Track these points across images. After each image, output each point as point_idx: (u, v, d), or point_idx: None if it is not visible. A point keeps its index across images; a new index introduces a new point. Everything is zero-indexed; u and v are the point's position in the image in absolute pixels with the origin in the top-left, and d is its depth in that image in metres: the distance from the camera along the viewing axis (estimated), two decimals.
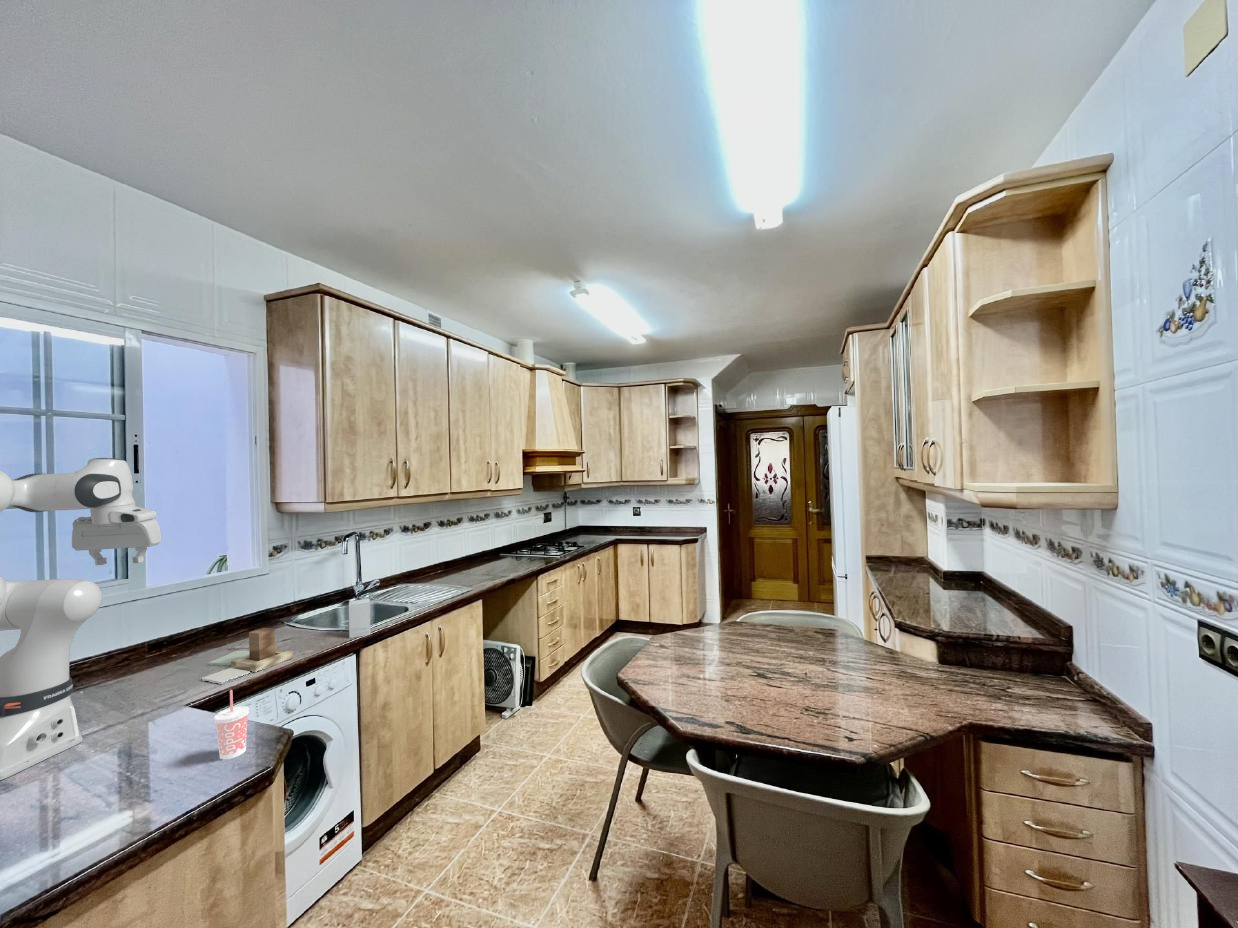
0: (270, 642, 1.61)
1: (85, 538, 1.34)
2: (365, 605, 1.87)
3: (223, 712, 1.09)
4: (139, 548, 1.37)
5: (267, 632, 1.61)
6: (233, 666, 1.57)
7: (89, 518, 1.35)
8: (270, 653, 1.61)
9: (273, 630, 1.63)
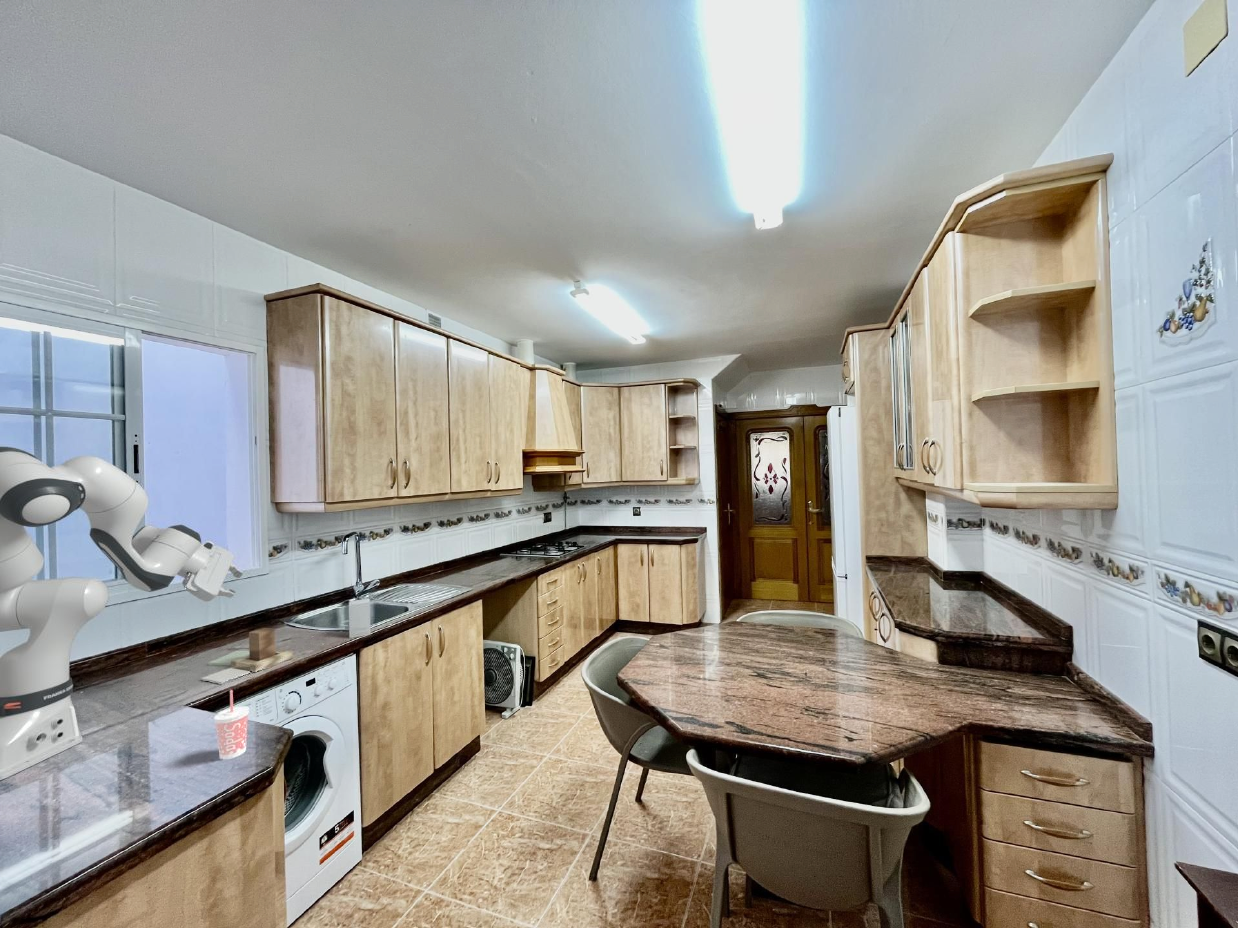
0: (270, 642, 1.61)
1: (210, 582, 1.45)
2: (365, 605, 1.87)
3: (223, 712, 1.09)
4: (232, 564, 1.57)
5: (267, 632, 1.61)
6: (233, 666, 1.57)
7: (189, 575, 1.42)
8: (270, 653, 1.61)
9: (273, 630, 1.63)
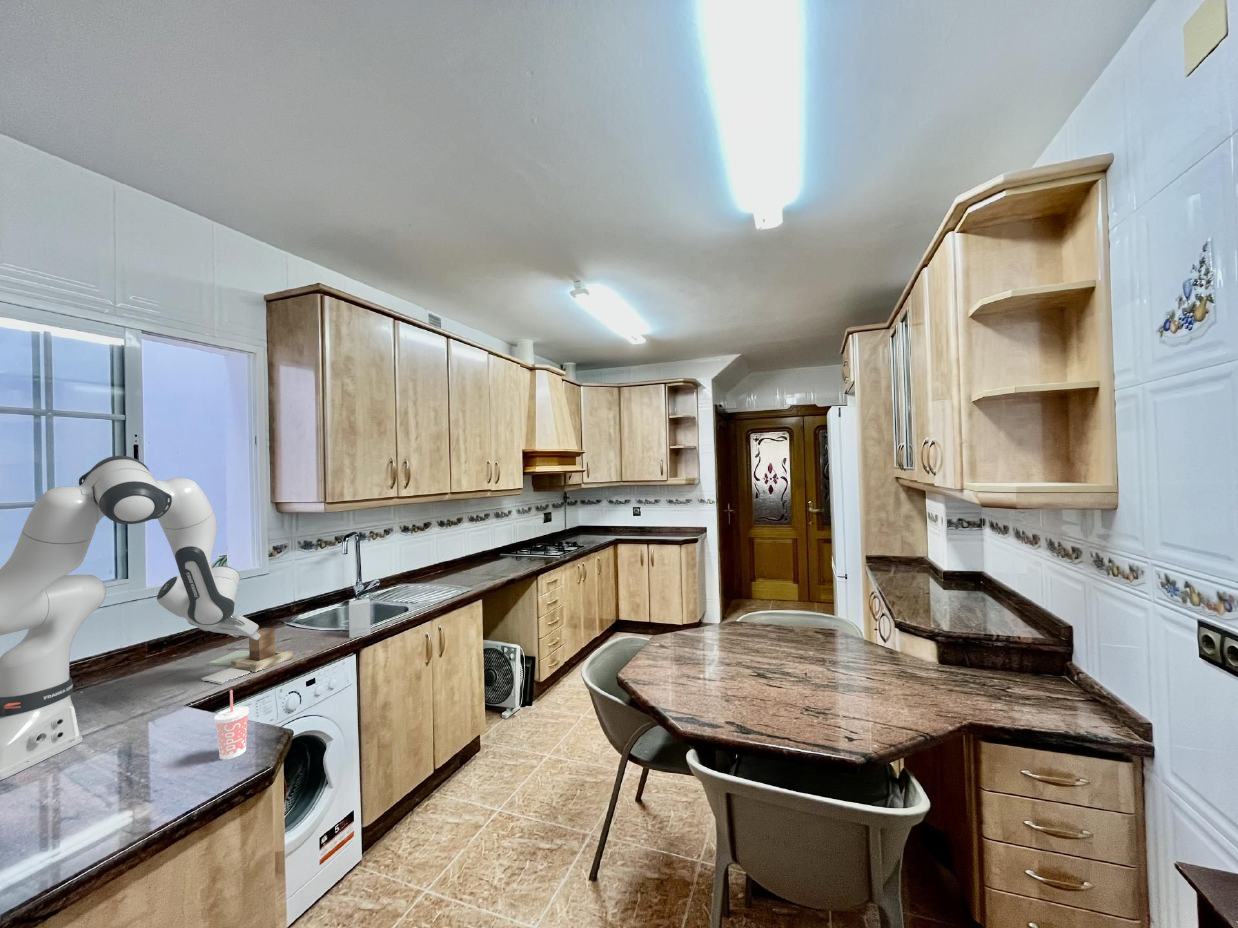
0: (270, 642, 1.61)
1: None
2: (365, 605, 1.87)
3: (223, 712, 1.09)
4: None
5: (267, 632, 1.61)
6: (233, 666, 1.57)
7: None
8: (270, 653, 1.61)
9: (273, 630, 1.63)
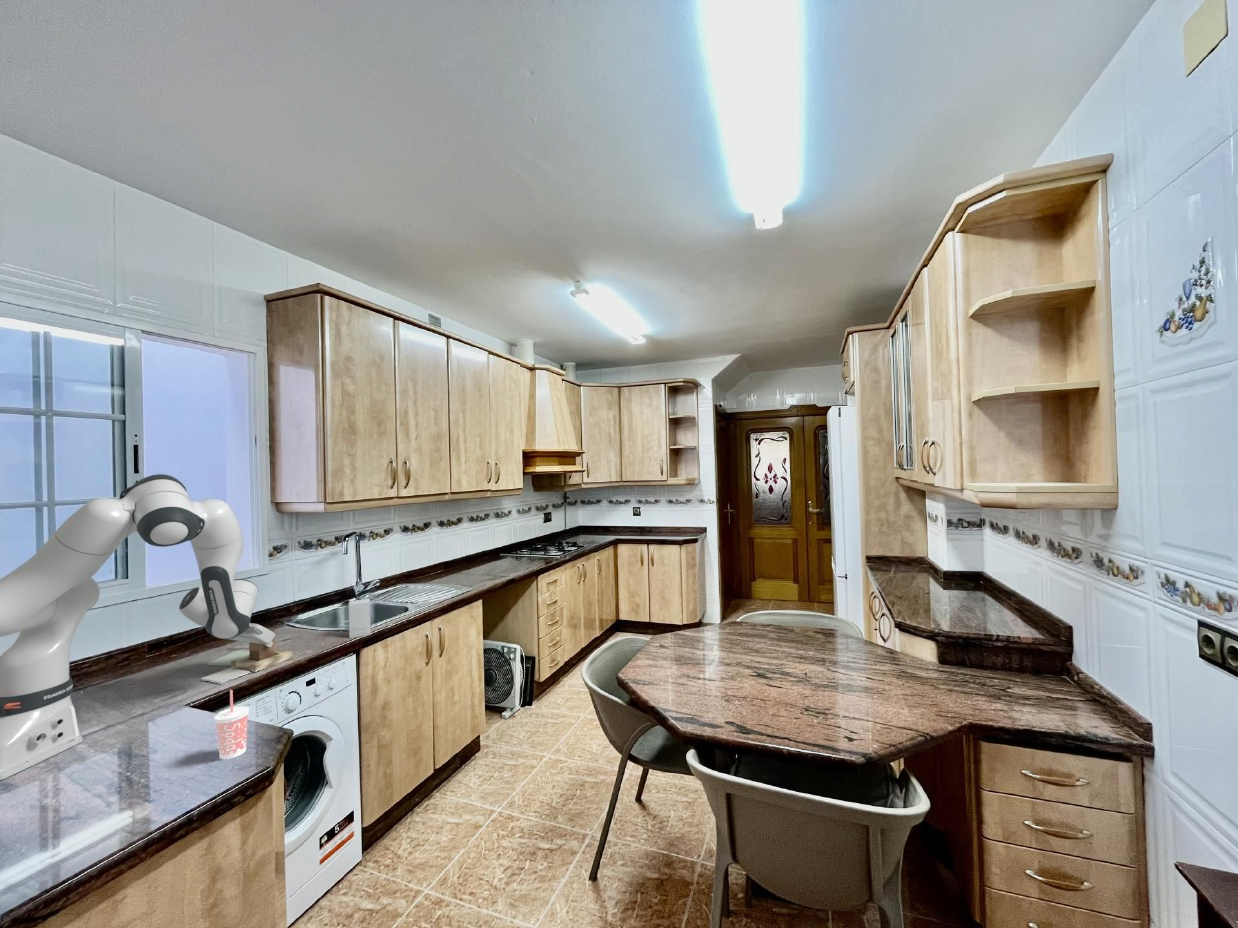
0: None
1: None
2: (365, 605, 1.87)
3: (223, 712, 1.09)
4: None
5: None
6: (233, 666, 1.57)
7: None
8: (270, 653, 1.61)
9: (273, 630, 1.63)
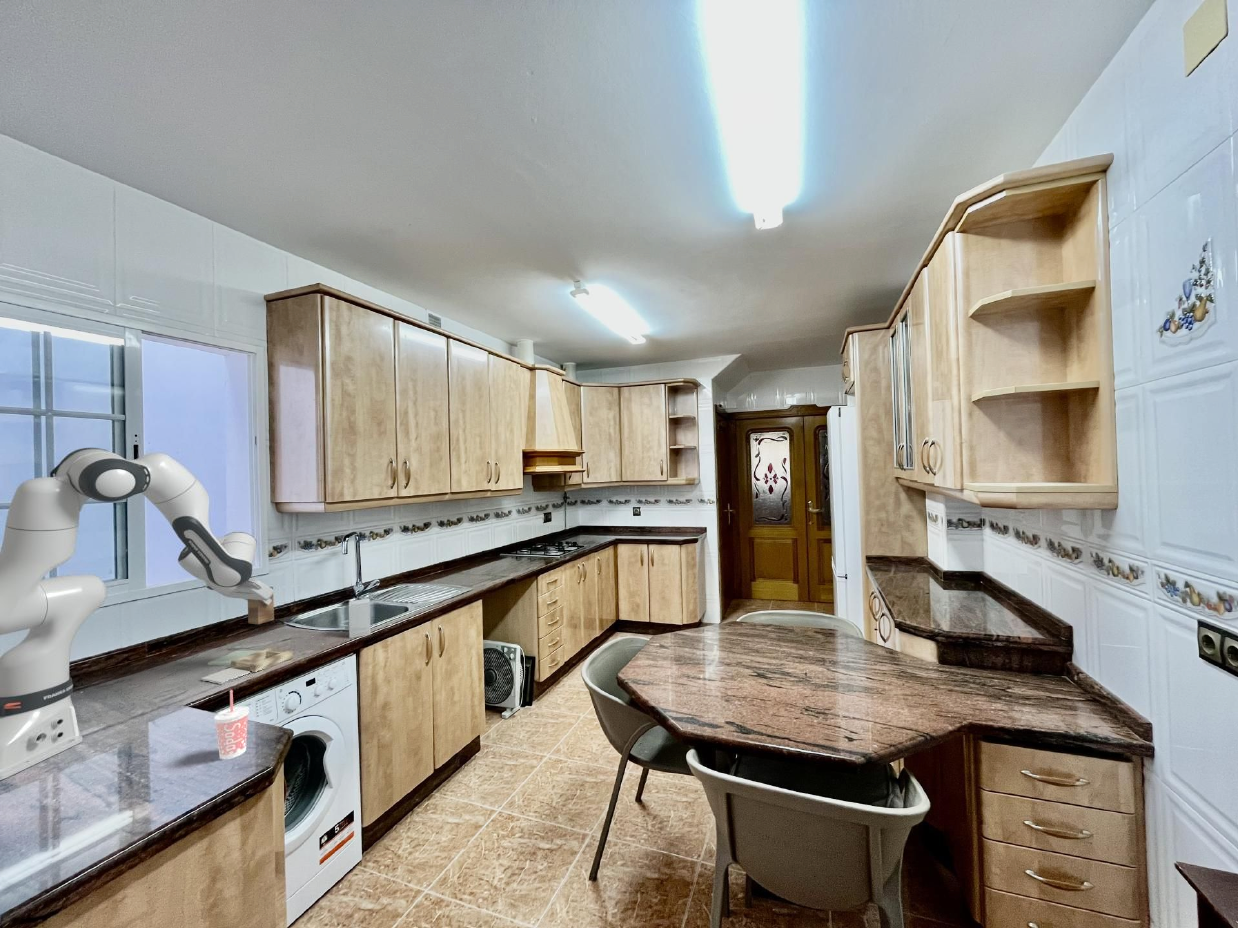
0: None
1: None
2: (365, 605, 1.87)
3: (223, 712, 1.09)
4: None
5: None
6: (233, 666, 1.57)
7: None
8: (269, 611, 1.62)
9: (272, 588, 1.63)
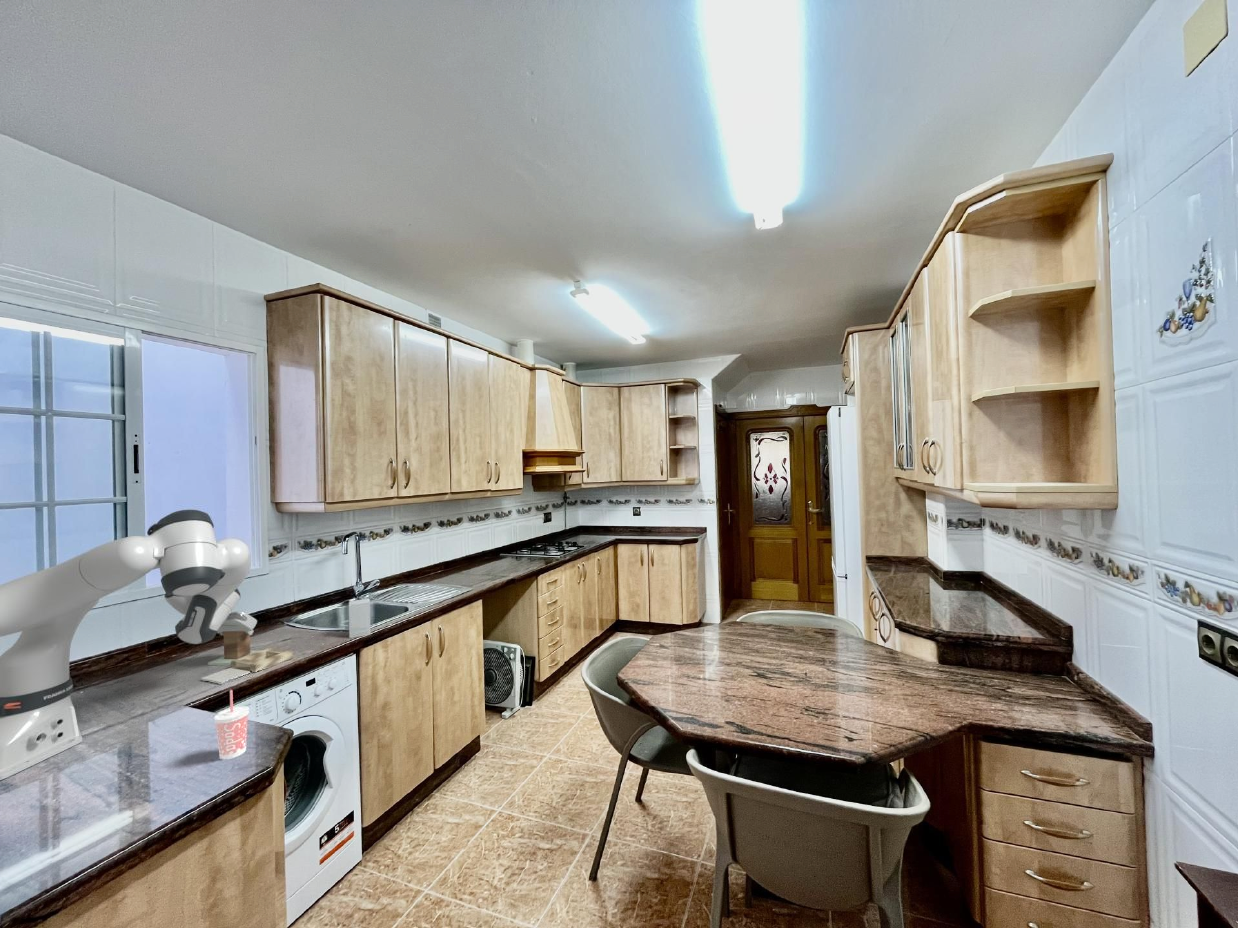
0: (246, 635, 1.68)
1: None
2: (365, 605, 1.87)
3: (223, 712, 1.09)
4: None
5: None
6: (233, 666, 1.57)
7: None
8: (246, 645, 1.68)
9: None
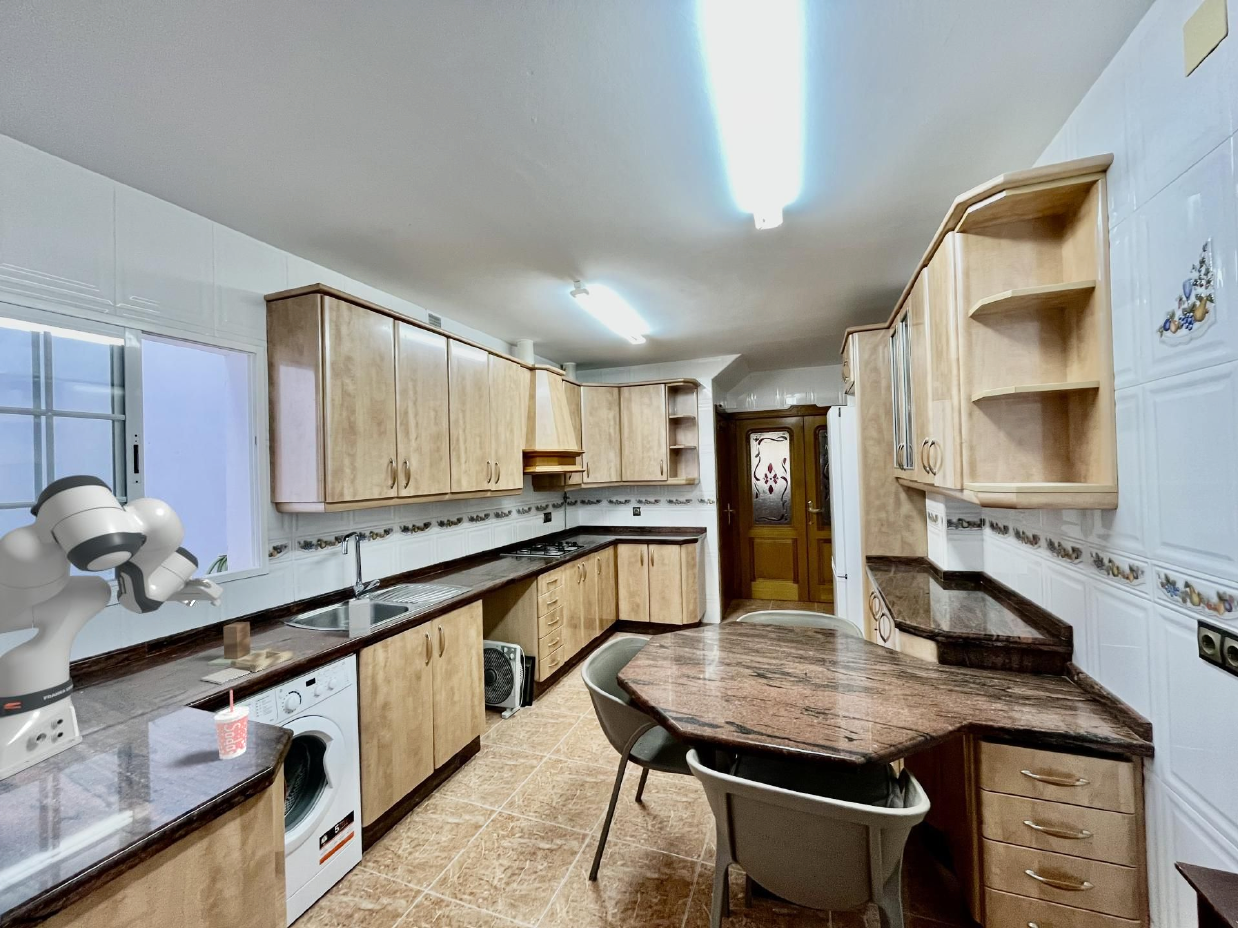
0: (246, 635, 1.68)
1: None
2: (365, 605, 1.87)
3: (223, 712, 1.09)
4: None
5: (243, 625, 1.67)
6: (233, 666, 1.57)
7: None
8: (246, 645, 1.68)
9: (248, 623, 1.69)
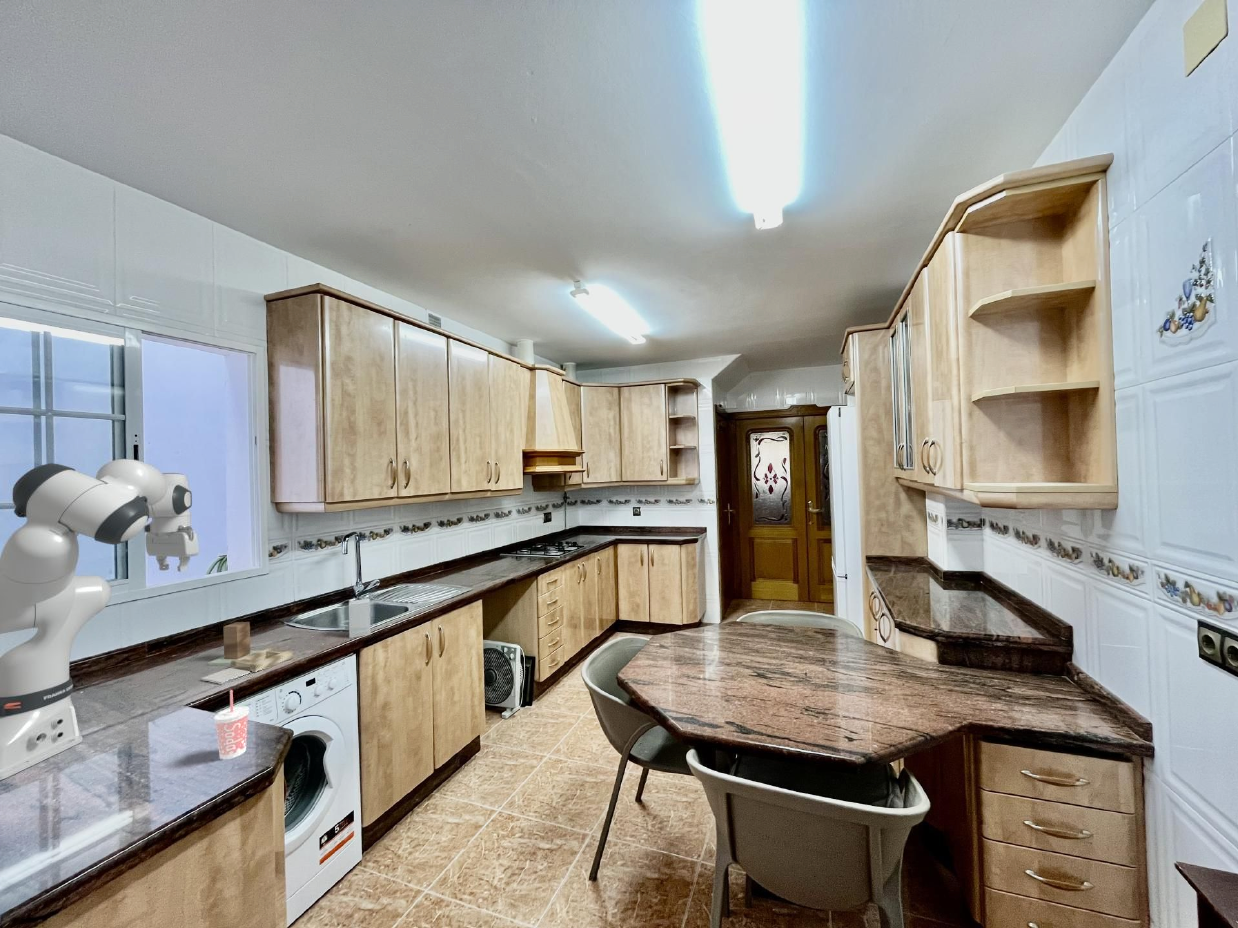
0: (246, 635, 1.68)
1: None
2: (365, 605, 1.87)
3: (223, 712, 1.09)
4: None
5: (243, 625, 1.67)
6: (233, 666, 1.57)
7: None
8: (246, 645, 1.68)
9: (248, 623, 1.69)
